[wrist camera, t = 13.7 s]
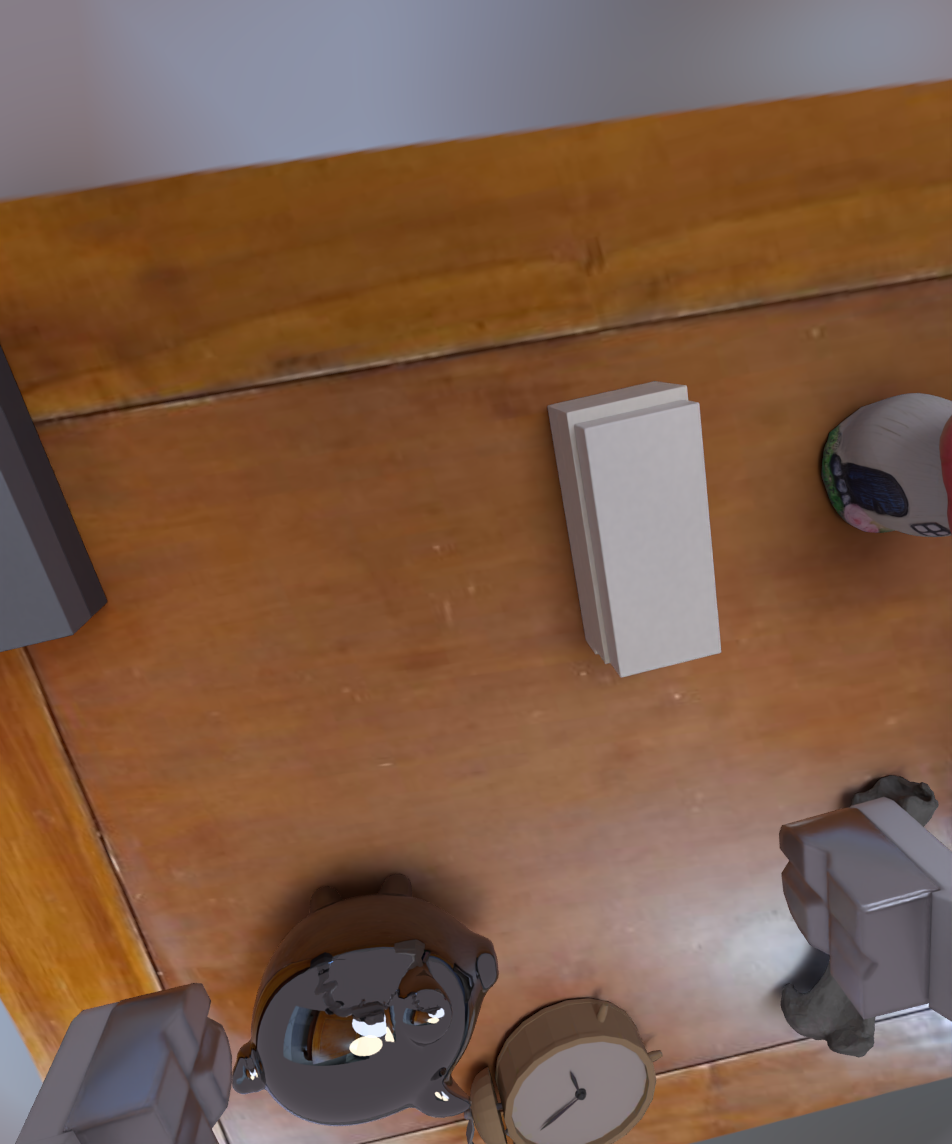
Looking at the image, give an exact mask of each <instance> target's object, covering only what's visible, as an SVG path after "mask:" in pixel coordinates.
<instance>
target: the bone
mask: <svg viewBox="0 0 952 1144" xmlns="http://www.w3.org/2000/svg"><path fill="white" fill-rule="evenodd" d="M882 797H886V798H888V799H891V800H893V801H894V802H896V803H897V804H898V805H899V806H900V807H901V808H902V809H904V810H905V811H906V812H907V813H908V814H909V815H910V816H912V817H913V818H914V819H915V820H916V821H917V822H918V823H920V824H921V825H922V826H923V827H924V826H925V825H926V824H927V822H928V821H929V820H930V819H931V818H932V815H933V813H934V811H935V810H936V809H937V807H938V801H937V800H936V799H935V796H934V793H933V791H932V790H931V789H930V787H929V786H928V784H926V783H923V782H921V783H916V782H910V781H908V780H906V779H904V778H902V777H900V776H892V775H889V776H888V777H885V778H881V779H880V780H879V781H878V782H877V783H876V784H875V785H874V787H873V788H872V789H870V790H869V791H867V792H864V793H857V794H855V795H854V797H853V800H852V806H853V805H856V804H860V803H864V802H867V801H871V800H874V799H878V798H882ZM781 1008H782V1011H783V1013H784V1016H785V1018H786V1020H787V1022H788V1024H789V1025H790V1026H791V1027H792V1028H793V1029H794V1030H795V1031H796V1032H797V1033H799V1034H800V1035H803V1036H806V1037H811V1038H813V1039H815V1040H826V1041H827V1044H828V1046H829V1048H830V1049H831V1050H832V1051H834V1052H837V1053H840V1054H845V1055H851V1056H856V1057H862V1056H864V1055H865V1054H866V1053H867V1052H868V1051H869V1050H870V1049H871V1048H872V1047H873V1045H874V1031H875V1017H872V1018H868V1019H863V1018H862V1016H861V1015H860V1014H859V1012H858V1011H857V1009H856V1008H855V1007H854V1005H853V1004H852V1002H851V1001H850V1000H849V998H848V997H847V996H846V994H845V993H844V991H843V990H842V989H841V987H840V986H839V985H838V983H837V982H836V980H835V979H834V978H833V976H832V975H831V972H830V961H829V964H828V966H827V969H826V971H825V973H824V974H823V976H822V978H821V979H820V981H819V982H818V983H817V984H816V985H815V987H814V988H813V989H812V990H811V991H810V992H808V993H805V994H803V993H799V992H797V990H796V989H795V988H794V986H793V984H787V985H786V986H785V987H784V989H783V991H782V998H781Z"/></svg>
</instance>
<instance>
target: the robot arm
mask: <svg viewBox="0 0 952 1144" xmlns="http://www.w3.org/2000/svg"><path fill="white" fill-rule="evenodd" d="M779 842H780V849H781V850H782V852H783V853H784V854H785V856H786V857H787V858H788V859H789V862H788V864H787V865H786V867H785V868H784V870H783V872H782V873H781V874H782V883H783V892H784V895H785V898H786V901H787V904H788V907H789V910H790V913H791V915H792V917H793V919H794V921H795V922H796V924H797V926H798V928H799V930H800V931H801V933H802V934H803V935H804V937H805V938H806V940H807V941H808V943H809V944H810V945H811V946H813V947H815V948H817V949H819V950H821V951H823V952H825V953H827V954H829V955H830V972H831V975H832V976H833V978H834V979H835V980H836V982H837V983H838V985H839V986H840V987H841V989H842V990H843V991H844V993H845V994H846V996H847V997H848V998H849V1000H850V1001H851V1002H852V1004H853V1005H854V1007H855V1008H856V1009H857V1011H858V1012H859V1014H860V1015H861V1016H862V1018H863V1019H868V1018H872V1017H876V1016H880V1015H884V1014H888V1013H892V1012H896V1011H900V1010H904V1009H908V1008H912V1007H916V1006H920V1005H924V1004H928V1003H929V1008H931V1009H933V1010H934V1011H936V1012H937V1013H939V1014H940V1015H942V1016H944V1017H945V1018H947V1019H948V1020H950V1021H952V852H951V851H950V850H949V849H948V848H947V847H946V846H945V845H944V844H942V843H941V842H940V841H939V840H938V839H937V838H936V837H934V836H933V835H932V834H931V833H930V832H929V831H928V830H926V829H925V828H924V827H923V826H922V825H921V824H920V823H918V822H917V821H916V820H915V819H914V818H913V817H912V816H910V815H909V814H908V813H907V812H906V811H905V810H904V809H902V808H901V807H900V806H899V805H898V804H897V803H896V802H894V801H893V800H891V799H888V798H886V797H882V798H878V799H874V800H871V801H867V802H864V803H860V804H856V805H853V806H850V807H849V808H842V809H839V810H835V811H832V812H828V813H824V814H821V815H817V816H814V817H810V818H806V819H803V820H799V821H796V822H792V823H788V824H785V825H782V827H781V830H780V832H779ZM210 1004H211V1000H210V998H209V996H208V994H207V992H206V990H205V988H204V986H203V984H202V983H191V984H187V985H183V986H179V987H175V988H171V989H166V990H162V991H158V992H154V993H150V994H146V995H141V996H137V997H133V998H129V999H125V1000H121V1001H120V1002H116V1003H112V1004H107V1005H103V1006H99V1007H95V1008H90V1009H86V1010H82V1011H81V1013H80V1014H79V1015H78V1016H77V1017H76V1018H75V1019H74V1020H73V1021H72V1022H71V1024H70V1026H69V1028H68V1030H67V1032H66V1035H65V1037H64V1039H63V1041H62V1043H61V1045H60V1048H59V1050H58V1052H57V1054H56V1056H55V1058H54V1061H53V1063H52V1065H51V1067H50V1069H49V1071H48V1074H47V1076H46V1078H45V1080H44V1082H43V1084H42V1087H41V1089H40V1091H39V1093H38V1095H37V1097H36V1100H35V1102H34V1104H33V1106H32V1108H31V1110H30V1113H29V1115H28V1117H27V1119H26V1121H25V1123H24V1126H23V1128H22V1130H21V1133H20V1134H19V1137H18V1139H17V1141H16V1143H15V1144H219V1143H218V1141H217V1139H216V1137H215V1135H214V1133H213V1131H212V1128H213V1126H214V1125H215V1124H216V1122H217V1121H218V1119H219V1118H220V1117H221V1115H222V1114H223V1112H224V1111H225V1110H226V1108H227V1107H228V1101H229V1096H230V1090H231V1085H232V1055H231V1050H230V1045H229V1040H228V1037H227V1035H226V1033H225V1030H224V1028H223V1026H222V1025H221V1024H219V1023H217V1022H216V1021H214V1020H212V1019H210V1018H208V1017H207V1016H208V1012H209V1008H210Z"/></svg>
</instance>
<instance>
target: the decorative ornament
mask: <svg viewBox="0 0 952 1144" xmlns="http://www.w3.org/2000/svg"><path fill="white" fill-rule="evenodd" d="M821 475H822V478H823V482H824V484H825V487H826V490H827V493H828V496H829V499H830V501H831V504H832V505H833V506H834V508H835V510H836V511H837V513H838V514H839V515H840V516H841V517H842V518H843V519H844V521H846V522H847V523H848V524H850V525H852V526H854V527H856V528H858V529H860V530H862V531H865V532H875V533H883V532H890V531H895V530H897V531H900V532H902V533H906V534H910V535H915V536H925V537H942V536H950V535H952V401H949V400H947V399H944V398H941V397H937V396H933V395H929V394H921V393H912V394H902V395H898V396H895V397H891V398H888V399H885V400H881V401H878V402H876V403H873V404H870V405H866V406H863V407H861V408H860V409H858V410H857V411H856V412H855V413H853V414H852V415H850V416H849V417H848V418H846V419H845V420H844V421H843V422H842V423H840V424H839V425H838V426H837V427H836V428H835V429H834V430H832V431H831V432H830V433H829V436H828V441H827V443H826V445H825V448H824V452H823V460H822V473H821Z"/></svg>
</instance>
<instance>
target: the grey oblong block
mask: <svg viewBox="0 0 952 1144" xmlns="http://www.w3.org/2000/svg"><path fill="white" fill-rule="evenodd" d="M678 400H687V401H688V393H687V386H686V385H678V384H671V383H664V382H657V381H654V382H650V383H645V384H641V385H636V386H632V387H627V388H623V389H618V390H614V391H610V392H605V393H601V394H596V395H592V396H587V397H583V398H578V399H574V400H570V401H565V402H561V403H556V404H552V405H548V413H549V419H550V425H551V431H552V437H553V443H554V450H555V456H556V462H557V468H558V474H559V480H560V486H561V492H562V498H563V504H564V510H565V516H566V523H567V529H568V535H569V541H570V547H571V553H572V559H573V565H574V571H575V577H576V583H577V589H578V596H579V602H580V608H581V614H582V620H583V626H584V632H585V638H586V641H587V643H588V644H589V646H590V647H591V648H592V650H593V651H594V653H595V654H599V655H600V657H601V658H602V660H603V661H604V662H605V664H608V663H610V660H609V653H608V646H607V640H606V633H605V627H604V620H603V613H602V607H601V600H600V593H599V587H598V580H597V574H596V567H595V560H594V554H593V547H592V540H591V534H590V527H589V521H588V514H587V507H586V501H585V494H584V487H583V481H582V474H581V468H580V461H579V454H578V448H577V441H576V435H575V428H574V425H575V424H576V423H581V422H585V421H590V420H594V419H599V418H603V417H608V416H612V415H616V414H621V413H625V412H630V411H634V410H639V409H643V408H647V407H652V406H656V405H661V404H665V403H670V402H674V401H678Z"/></svg>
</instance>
